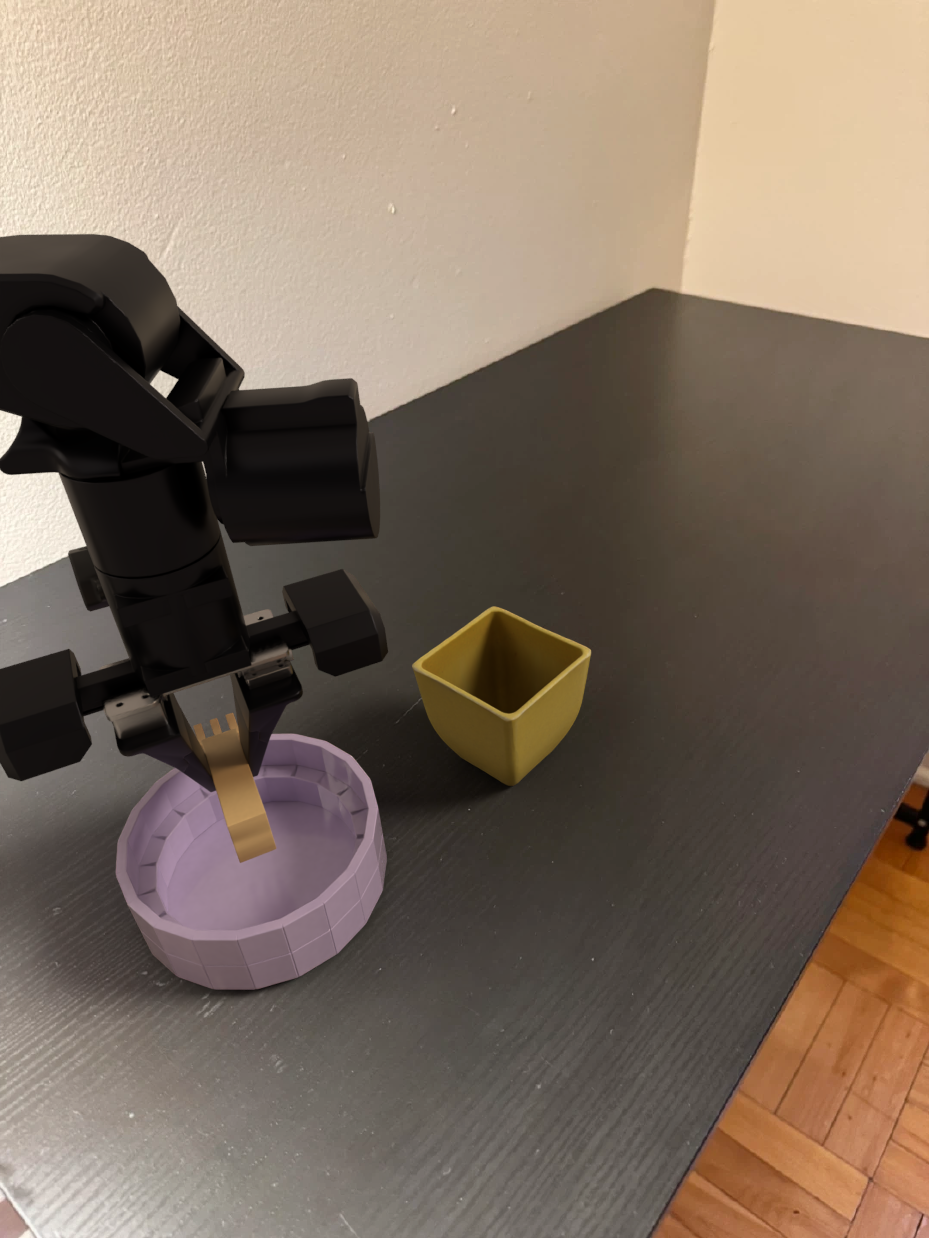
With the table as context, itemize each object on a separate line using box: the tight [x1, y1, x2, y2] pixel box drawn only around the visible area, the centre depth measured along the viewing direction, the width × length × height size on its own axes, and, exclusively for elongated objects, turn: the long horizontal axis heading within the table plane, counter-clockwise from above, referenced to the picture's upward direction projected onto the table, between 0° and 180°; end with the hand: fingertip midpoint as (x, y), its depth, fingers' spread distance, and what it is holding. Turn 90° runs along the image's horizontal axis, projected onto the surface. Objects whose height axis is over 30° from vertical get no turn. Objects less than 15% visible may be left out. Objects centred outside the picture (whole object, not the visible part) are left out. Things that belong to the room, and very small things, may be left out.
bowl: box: [115, 733, 388, 991], centre depth 52 cm, size 15×15×6 cm
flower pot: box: [411, 605, 592, 787], centre depth 58 cm, size 9×9×9 cm
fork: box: [192, 712, 276, 863], centre depth 48 cm, size 11×3×3 cm, turn 25°
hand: (233, 778), depth 48 cm, fingers closed on fork, 2 cm apart
